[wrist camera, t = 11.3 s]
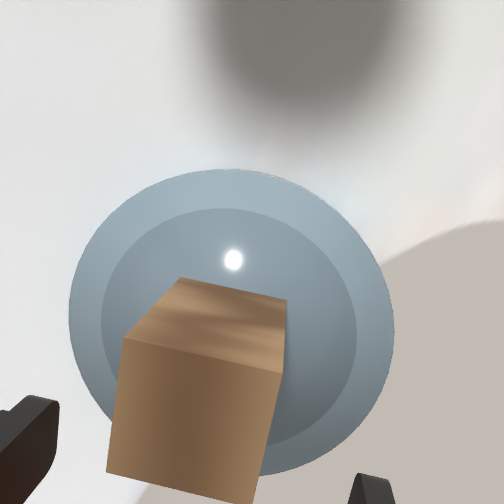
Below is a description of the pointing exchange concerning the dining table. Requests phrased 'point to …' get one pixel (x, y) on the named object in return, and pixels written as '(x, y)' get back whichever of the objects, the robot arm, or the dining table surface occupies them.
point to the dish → (252, 280)
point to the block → (199, 391)
